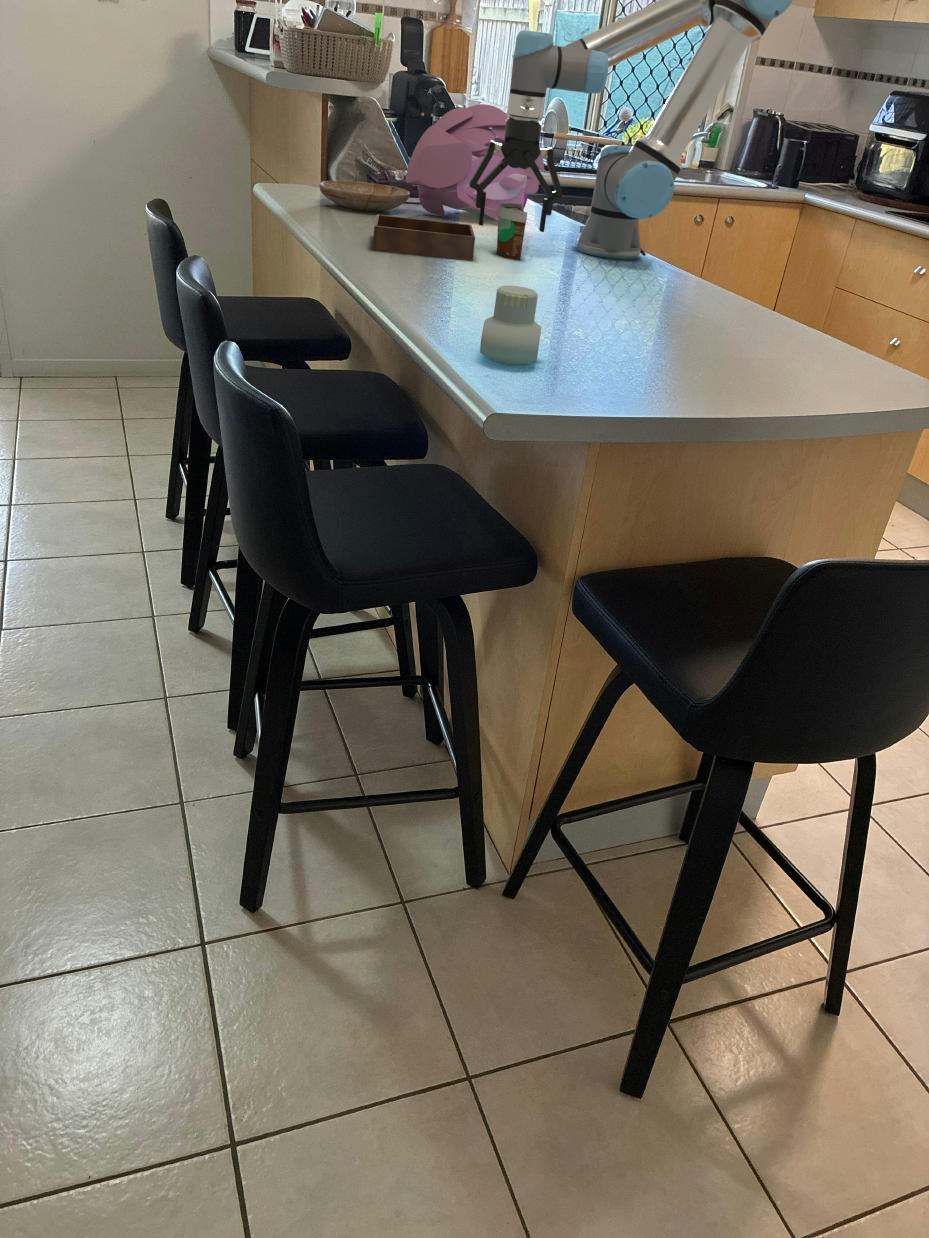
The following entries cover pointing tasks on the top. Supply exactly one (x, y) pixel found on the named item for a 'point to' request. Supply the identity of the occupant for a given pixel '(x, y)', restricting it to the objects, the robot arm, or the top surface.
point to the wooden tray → (423, 237)
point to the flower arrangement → (466, 163)
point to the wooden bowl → (364, 195)
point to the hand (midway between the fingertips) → (511, 228)
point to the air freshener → (512, 327)
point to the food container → (510, 230)
